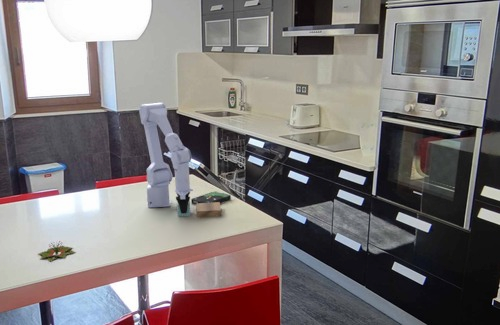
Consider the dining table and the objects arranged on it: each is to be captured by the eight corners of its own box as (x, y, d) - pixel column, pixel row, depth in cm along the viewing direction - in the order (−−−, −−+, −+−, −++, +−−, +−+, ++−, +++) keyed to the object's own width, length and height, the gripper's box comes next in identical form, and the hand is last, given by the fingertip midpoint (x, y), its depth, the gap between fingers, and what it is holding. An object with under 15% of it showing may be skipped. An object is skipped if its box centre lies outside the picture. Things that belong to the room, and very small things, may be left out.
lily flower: (65, 244, 161) (63, 232, 160) (82, 253, 153) (81, 241, 152) (31, 256, 152) (29, 243, 151) (47, 266, 145) (45, 253, 144)
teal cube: (177, 216, 185) (177, 204, 184) (178, 212, 190) (177, 200, 189) (190, 215, 186) (189, 204, 185) (190, 211, 191) (189, 200, 189)
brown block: (196, 218, 184) (196, 211, 183) (196, 210, 193) (196, 203, 193) (221, 217, 185) (221, 210, 184) (219, 208, 195) (219, 202, 194)
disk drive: (207, 209, 194) (231, 200, 205) (207, 203, 193) (231, 194, 204) (191, 204, 201) (215, 196, 212) (190, 198, 200) (214, 190, 211)
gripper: (192, 183, 178) (194, 216, 181) (192, 173, 192) (193, 204, 195) (174, 184, 177) (176, 217, 180) (175, 174, 191) (176, 205, 194)
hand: (184, 210), depth 187 cm, fingers closed on teal cube, 5 cm apart
